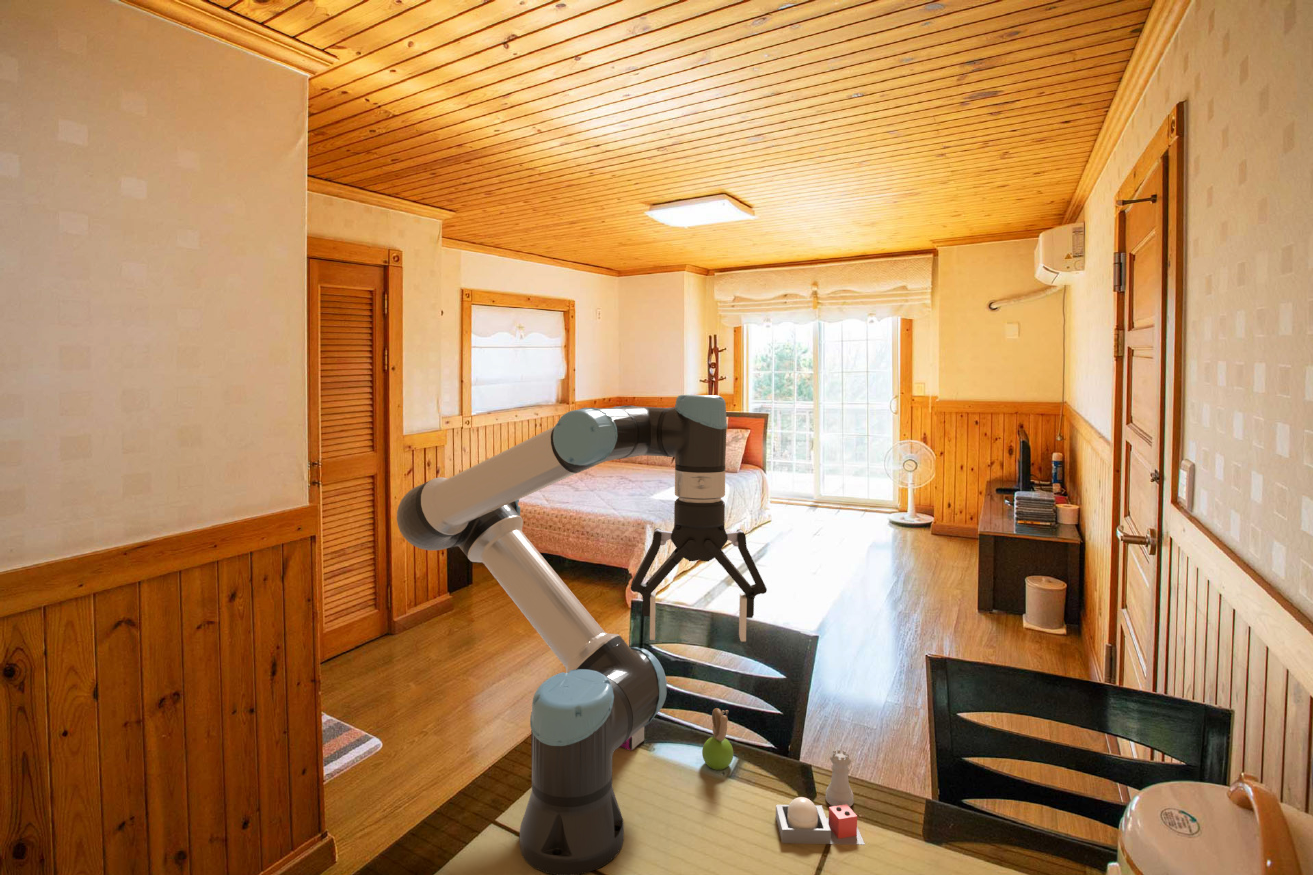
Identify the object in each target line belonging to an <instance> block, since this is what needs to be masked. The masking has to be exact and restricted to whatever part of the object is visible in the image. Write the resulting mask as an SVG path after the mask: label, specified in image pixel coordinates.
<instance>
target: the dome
mask: <svg viewBox="0 0 1313 875" xmlns="http://www.w3.org/2000/svg"><path fill="white" fill-rule="evenodd" d="M788 805H789V807H788V818H787V826H788V828H816V829H817V824H818V813H817V809H816V807H815V803H814V802H813V801H812V800H810V799H809V798H807V797H804V796H799V797H796V798H794V799H792V800H791V802H790V803H789V804H788Z"/></svg>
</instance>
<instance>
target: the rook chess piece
mask: <svg viewBox="0 0 1313 875" xmlns="http://www.w3.org/2000/svg"><path fill="white" fill-rule="evenodd" d="M829 760H830V761H831V763H832V765H831V767H830V768H831V771H832V772H831V778H830V783H829V784H828V785H827V788H826V789H825V796H824V798H825V801H826V802H827V803H828V804H829V805H830V807H832V806H839V805H846V804H847V805H848V806H849V807H850V808H851V806H853V805H854V801H855V800H854V793H853V791H852V788H851V785H850V783H849V772H850V768H849V765H850V764H851V763H852V759H851V758H850V754H849V753H848V752H847V751H846V750H842V752H841V749H837V750H833V751H832V754H831V756H830V758H829Z"/></svg>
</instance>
